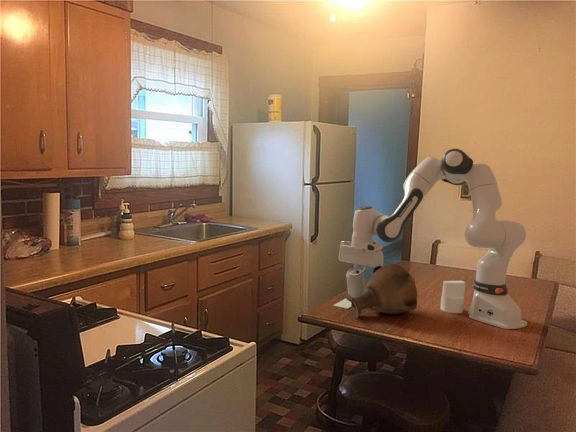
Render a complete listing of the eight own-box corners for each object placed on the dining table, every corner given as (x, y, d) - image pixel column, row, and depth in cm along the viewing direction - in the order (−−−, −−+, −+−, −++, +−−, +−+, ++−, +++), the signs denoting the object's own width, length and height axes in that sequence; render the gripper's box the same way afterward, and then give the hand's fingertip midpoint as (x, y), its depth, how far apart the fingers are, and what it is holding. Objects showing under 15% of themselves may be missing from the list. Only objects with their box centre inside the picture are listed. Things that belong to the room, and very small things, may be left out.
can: (366, 298, 216) (364, 274, 211) (349, 300, 216) (346, 276, 212) (364, 289, 223) (362, 265, 218) (347, 291, 223) (345, 267, 219)
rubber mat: (345, 299, 216) (345, 298, 216) (359, 302, 213) (359, 301, 213) (333, 306, 206) (333, 305, 206) (347, 309, 203) (347, 308, 203)
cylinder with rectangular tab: (448, 313, 204) (451, 285, 202) (436, 306, 212) (438, 279, 211) (467, 312, 206) (470, 284, 205) (454, 306, 215) (457, 278, 213)
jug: (406, 304, 213) (342, 321, 203) (398, 259, 213) (334, 273, 204) (434, 310, 194) (365, 329, 184) (425, 260, 194) (356, 276, 184)
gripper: (337, 240, 221) (334, 271, 223) (380, 248, 210) (377, 280, 212) (343, 239, 226) (341, 268, 228) (386, 246, 215) (383, 277, 217)
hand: (359, 274), depth 220 cm, fingers closed
